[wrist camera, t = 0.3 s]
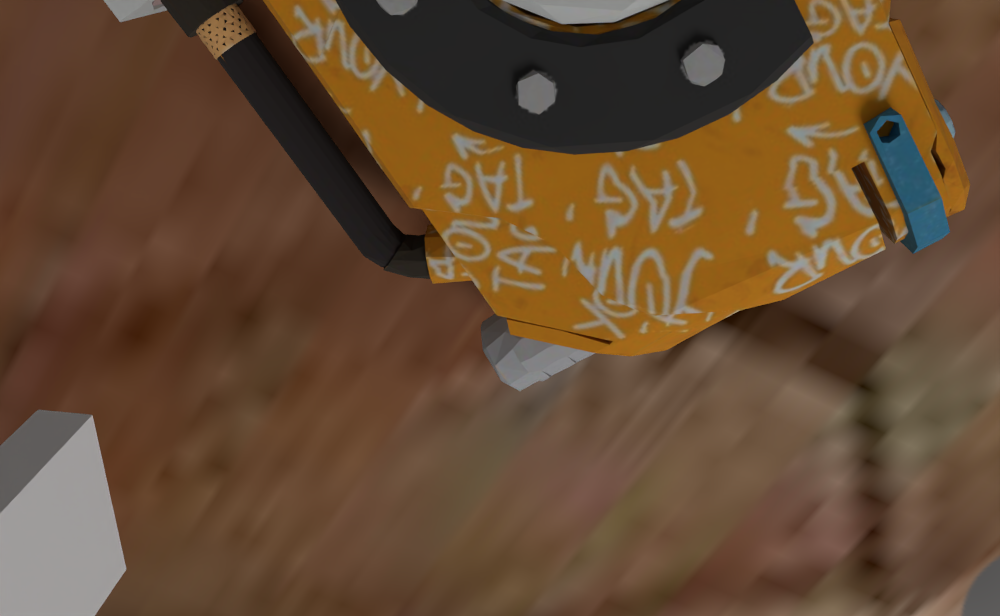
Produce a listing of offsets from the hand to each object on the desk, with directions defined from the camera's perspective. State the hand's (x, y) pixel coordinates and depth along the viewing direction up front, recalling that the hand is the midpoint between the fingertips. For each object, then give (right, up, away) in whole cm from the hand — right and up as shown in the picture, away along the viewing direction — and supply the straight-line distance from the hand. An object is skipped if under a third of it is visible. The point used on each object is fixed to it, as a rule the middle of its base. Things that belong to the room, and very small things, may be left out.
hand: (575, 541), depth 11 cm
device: (0, +15, +23) cm, 28 cm away
